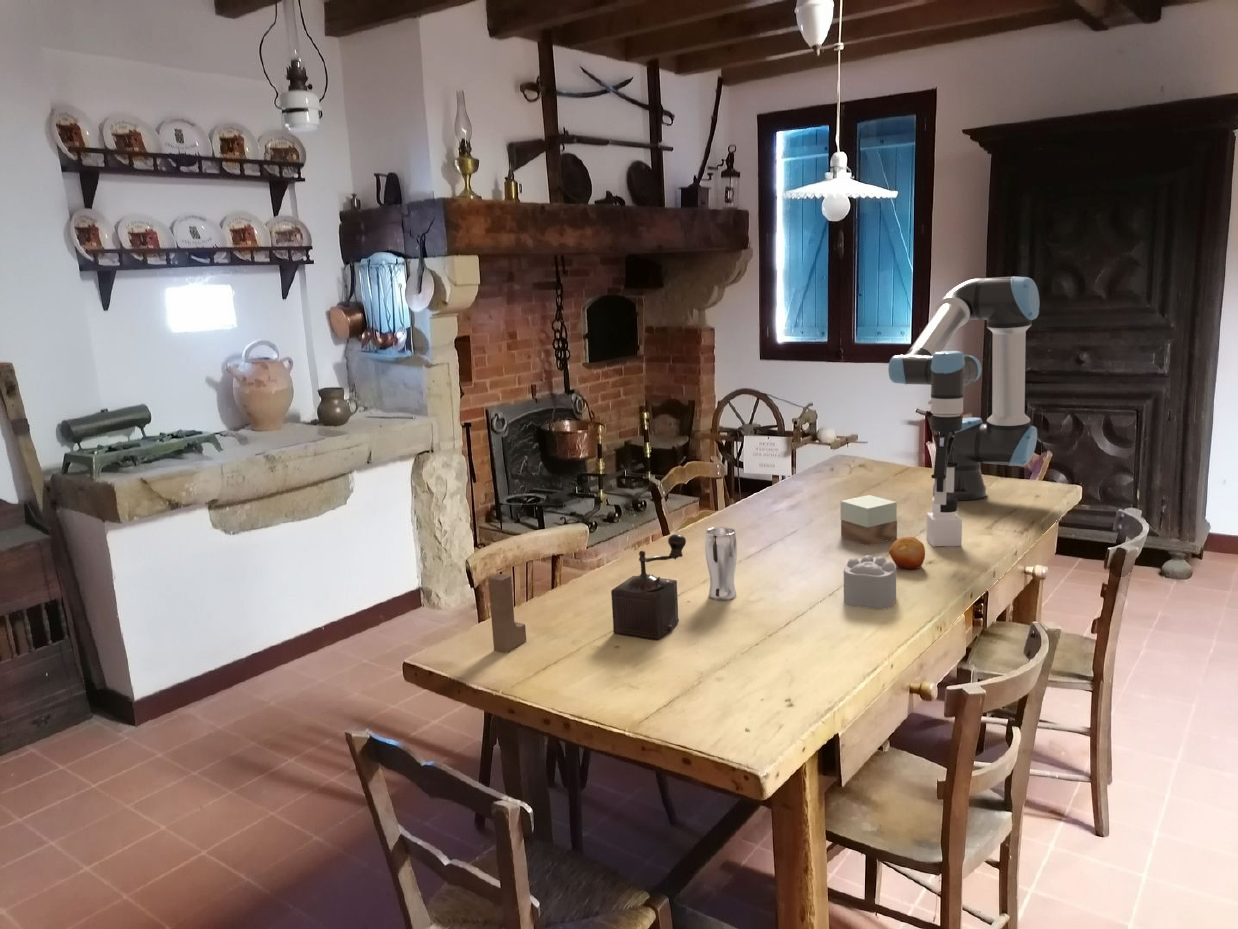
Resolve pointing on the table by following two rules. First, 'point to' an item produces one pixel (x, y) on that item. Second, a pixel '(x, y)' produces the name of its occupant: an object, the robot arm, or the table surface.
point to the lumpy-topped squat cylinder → (870, 582)
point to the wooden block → (504, 615)
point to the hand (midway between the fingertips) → (944, 498)
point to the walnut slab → (869, 532)
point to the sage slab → (868, 511)
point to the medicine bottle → (944, 524)
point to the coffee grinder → (647, 600)
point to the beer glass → (721, 561)
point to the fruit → (907, 553)
